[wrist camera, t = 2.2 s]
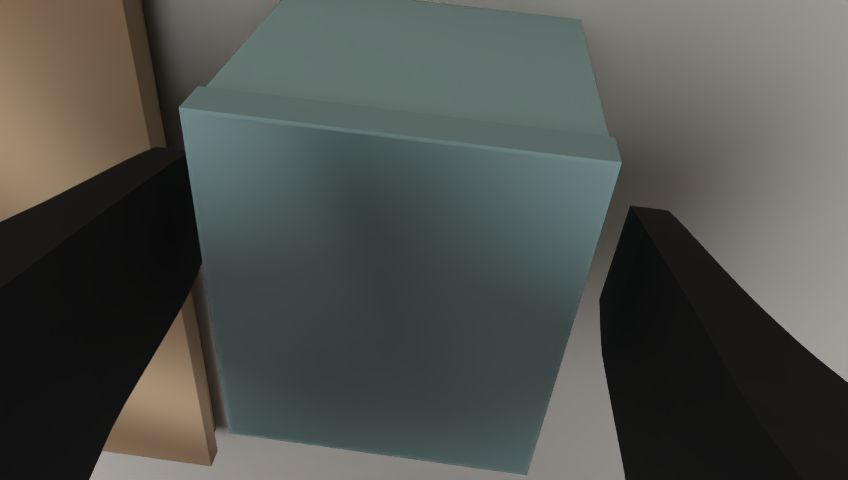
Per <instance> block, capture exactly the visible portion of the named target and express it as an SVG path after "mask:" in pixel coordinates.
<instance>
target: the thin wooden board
mask: <svg viewBox="0 0 848 480" xmlns="http://www.w3.org/2000/svg"><path fill="white" fill-rule="evenodd" d="M154 147H162V148H167V146H166V141H165V135H164V129H163V123H162V118H161V112H160V106H159V100H158V95H157V89H156V83H155V77H154V72H153V66H152V60H151V54H150V49H149V43H148V37H147V32H146V26H145V20H144V14H143V9H142V3H141V0H0V222H1V221H3V220H5V219H7V218H10V217H12V216H14V215H16V214H18V213H20V212H23V211H25V210H27V209H29V208H31V207H33V206H36V205H38V204H40V203H42V202H44V201H46V200H48V199H50V198H52V197H54V196H56V195H58V194H60V193H62V192H64V191H66V190H68V189H70V188H72V187H74V186H76V185H78V184H80V183H82V182H84V181H86V180H88V179H90V178H92V177H94V176H96V175H97V174H99V173H101V172H103V171H105V170H107V169H109V168H111V167H113V166H115V165H117V164H119V163H121V162H123V161H125V160H127V159H129V158H131V157H133V156H135V155H137V154H140V153H142V152H144V151H146V150H149V149H152V148H154ZM215 430H216V427H215V422H214V416H213V410H212V404H211V399H210V393H209V387H208V382H207V376H206V370H205V364H204V359H203V353H202V347H201V341H200V336H199V330H198V324H197V318H196V313H195V307H194V301H193V295H192V290H190V292H189V295H188V297H187V299H186V301H185V303H184V304H183V306H182V308H181V310H180V311H179V313H178V315H177V317H176V318H175V320H174V322H173V324H172V325H171V327H170V329H169V330H168V332H167V334H166V336H165V337H164V339H163V341H162V342H161V344H160V346H159V347H158V349H157V351H156V353H155V354H154V356H153V358H152V359H151V361H150V363H149V364H148V366H147V368H146V369H145V371H144V373H143V375H142V376H141V378H140V380H139V381H138V383H137V385H136V386H135V388H134V390H133V391H132V393H131V395H130V397H129V398H128V400H127V402H126V403H125V405H124V407H123V409H122V411H121V413H120V415H119V416H118V418H117V420H116V422H115V424H114V426H113V428H112V430H111V432H110V434H109V436H108V439H107V441H106V443H105V445H104V447H103V450H102V451H108V452H115V453H122V454H129V455H136V456H143V457H150V458H157V459H164V460H171V461H178V462H186V463H193V464H200V465H207V466H211V465H212V463H213V461H214V458H215V456H216V453H217V445H216V440H215V434H214V432H215Z"/></svg>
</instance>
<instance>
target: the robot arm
mask: <svg viewBox="0 0 848 480" xmlns="http://www.w3.org/2000/svg"><path fill="white" fill-rule="evenodd" d="M201 263H202V255H201V249H200V242H199V236H198V229H197V223H196V216H195V210H194V203H193V197H192V191H191V184H190V178H189V171H188V165H187V158H186V152H185V150H178V149H170V148H162V147H154V148H152V149H149V150H146V151H144V152H142V153H140V154H137V155H135V156H133V157H131V158H129V159H127V160H125V161H123V162H121V163H119V164H117V165H115V166H113V167H111V168H109V169H107V170H105V171H103V172H101V173H99V174H97V175H96V176H94V177H92V178H90V179H88V180H86V181H84V182H82V183H80V184H78V185H76V186H74V187H72V188H70V189H68V190H66V191H64V192H62V193H60V194H58V195H56V196H54V197H52V198H50V199H48V200H46V201H44V202H42V203H40V204H38V205H36V206H33V207H31V208H29V209H27V210H25V211H23V212H20V213H18V214H16V215H14V216H12V217H10V218H7V219H5V220H3V221H1V222H0V480H89V479H90V476H91V474H92V472H93V470H94V467H95V465H96V463H97V461H98V459H99V456H100V454H101V452H102V450H103V447H104V445H105V443H106V441H107V439H108V436H109V434H110V432H111V430H112V428H113V426H114V424H115V422H116V420H117V418H118V416H119V415H120V413H121V411H122V409H123V407H124V405H125V403H126V402H127V400H128V398H129V397H130V395H131V393H132V391H133V390H134V388H135V386H136V385H137V383H138V381H139V380H140V378H141V376H142V375H143V373H144V371H145V369H146V368H147V366H148V364H149V363H150V361H151V359H152V358H153V356H154V354H155V353H156V351H157V349H158V347H159V346H160V344H161V342H162V341H163V339H164V337H165V336H166V334H167V332H168V330H169V329H170V327H171V325H172V324H173V322H174V320H175V318H176V317H177V315H178V313H179V311H180V310H181V308H182V306H183V304H184V303H185V301H186V299H187V297H188V295H189V292H190V290H191V288H192V285H193V283H194V280H195V278H196V276H197V273H198V270H199V268H200V265H201ZM599 302H600V330H601V346H602V356H603V362H604V368H605V373H606V378H607V384H608V389H609V395H610V400H611V405H612V410H613V416H614V421H615V426H616V431H617V436H618V442H619V447H620V452H621V457H622V463H623V468H624V473H625V480H848V382H846V381H845V380H844V379H843V378H841V377H840V376H839V375H838V374H836V373H835V372H834V371H833V370H831V369H830V368H829V367H828V366H826V365H825V364H824V363H822V362H821V361H820V360H819V359H818V358H816V357H815V356H814V355H813V354H812V353H811V352H809V351H808V350H807V349H806V348H805V347H804V346H802V345H801V344H800V343H799V342H798V341H797V340H796V339H795V338H793V337H792V336H791V335H790V334H789V333H788V332H787V331H786V330H785V329H784V328H783V327H782V326H780V325H779V324H778V323H777V322H776V321H775V320H774V319H773V318H772V317H771V316H770V315H769V314H767V313H766V312H765V311H764V310H763V309H762V308H761V307H760V306H759V305H758V304H757V303H756V302H755V301H754V300H753V299H752V298H751V297H750V296H749V295H748V294H747V293H746V292H745V291H744V290H743V289H742V288H741V287H740V286H739V285H738V284H737V283H736V282H735V280H734V279H733V278H732V277H731V276H730V275H729V274H728V273H727V272H726V271H725V270H724V269H723V268H722V267H721V266H720V265H719V264H718V263H717V261H716V260H715V259H714V258H713V257H712V256H711V255H710V254H709V253H708V252H707V251H706V250H705V248H704V247H703V246H702V245H701V244H700V243H699V242H698V241H697V240H696V239H695V238H694V237H693V235H692V234H691V233H690V232H689V231H688V230H687V229H686V228H685V227H684V226H683V225H682V224H681V223H680V222H679V221H678V220H677V218H676V217H674V216H673V215H672V214H671V213H670V212H669V211H667V210H659V209H651V208H643V207H635V206H630V208H629V211H628V214H627V217H626V220H625V223H624V226H623V229H622V232H621V236H620V239H619V242H618V245H617V248H616V251H615V254H614V257H613V260H612V263H611V266H610V269H609V272H608V275H607V278H606V281H605V284H604V287H603V290H602V293H601V296H600V299H599Z"/></svg>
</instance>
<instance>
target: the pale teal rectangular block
mask: <svg viewBox="0 0 848 480" xmlns="http://www.w3.org/2000/svg"><path fill="white" fill-rule="evenodd" d="M179 113H180V119H181V126H182V132H183V139H184V145H185V152H186V158H187V165H188V171H189V178H190V184H191V191H192V197H193V203H194V210H195V216H196V223H197V229H198V236H199V242H200V249H201V255H202V262H203V268H204V275H205V281H206V287H207V294H208V300H209V307H210V313H211V320H212V326H213V333H214V339H215V346H216V352H217V358H218V365H219V371H220V378H221V384H222V391H223V397H224V404H225V410H226V417H227V423H228V430H229V433H231V434H238V435H245V436H252V437H259V438H266V439H274V440H281V441H288V442H295V443H302V444H309V445H316V446H323V447H330V448H337V449H345V450H352V451H359V452H366V453H373V454H380V455H387V456H394V457H401V458H408V459H415V460H423V461H430V462H437V463H444V464H451V465H458V466H465V467H472V468H479V469H486V470H493V471H501V472H508V473H515V474H522V475H527V473H528V469H529V466H530V463H531V460H532V456H533V453H534V450H535V447H536V443H537V440H538V437H539V433H540V430H541V427H542V424H543V420H544V417H545V414H546V410H547V407H548V404H549V401H550V397H551V394H552V391H553V387H554V384H555V381H556V378H557V374H558V371H559V368H560V364H561V361H562V358H563V355H564V351H565V348H566V345H567V341H568V338H569V335H570V332H571V328H572V325H573V322H574V318H575V315H576V312H577V309H578V305H579V302H580V299H581V295H582V292H583V289H584V286H585V282H586V279H587V276H588V272H589V269H590V266H591V263H592V259H593V256H594V253H595V249H596V246H597V243H598V240H599V236H600V233H601V230H602V226H603V223H604V220H605V217H606V213H607V210H608V207H609V204H610V200H611V197H612V194H613V190H614V187H615V184H616V181H617V177H618V174H619V171H620V167H621V164H622V161H621V157H620V153H619V149H618V145H617V142H616V138H615V137H610V136H609V134H608V130H607V126H606V122H605V117H604V113H603V109H602V105H601V101H600V97H599V93H598V89H597V85H596V81H595V77H594V73H593V69H592V65H591V60H590V56H589V52H588V48H587V44H586V40H585V36H584V32H583V28H582V24H581V20H577V19H569V18H560V17H552V16H543V15H535V14H526V13H518V12H509V11H501V10H492V9H484V8H475V7H466V6H458V5H449V4H441V3H432V2H424V1H415V0H281V2H280V3H279V4H278V5H277V6H276V7H275V8H274V9H273V11H272V12H271V13H270V14H269V15H268V16H267V17H266V19H265V20H264V21H263V22H262V23H261V24H260V25H259V27H258V28H257V29H256V30H255V31H254V32H253V33H252V34H251V36H250V37H249V38H248V39H247V40H246V41H245V42H244V44H243V45H242V46H241V47H240V48H239V49H238V50H237V52H236V53H235V54H234V55H233V56H232V57H231V58H230V59H229V61H228V62H227V63H226V64H225V65H224V66H223V67H222V69H221V70H220V71H219V72H218V73H217V74H216V75H215V77H214V78H213V79H212V80H211V81H210V82H209V83H208V84H207V86H206V87H204V86H197V88H196V89H195V90H194V91H193V92H192V93H191V94H190V95H189V96H188V97H187V99H186V100H185V101H184V102H183V103H182V104H181V105H180V106H179Z"/></svg>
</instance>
